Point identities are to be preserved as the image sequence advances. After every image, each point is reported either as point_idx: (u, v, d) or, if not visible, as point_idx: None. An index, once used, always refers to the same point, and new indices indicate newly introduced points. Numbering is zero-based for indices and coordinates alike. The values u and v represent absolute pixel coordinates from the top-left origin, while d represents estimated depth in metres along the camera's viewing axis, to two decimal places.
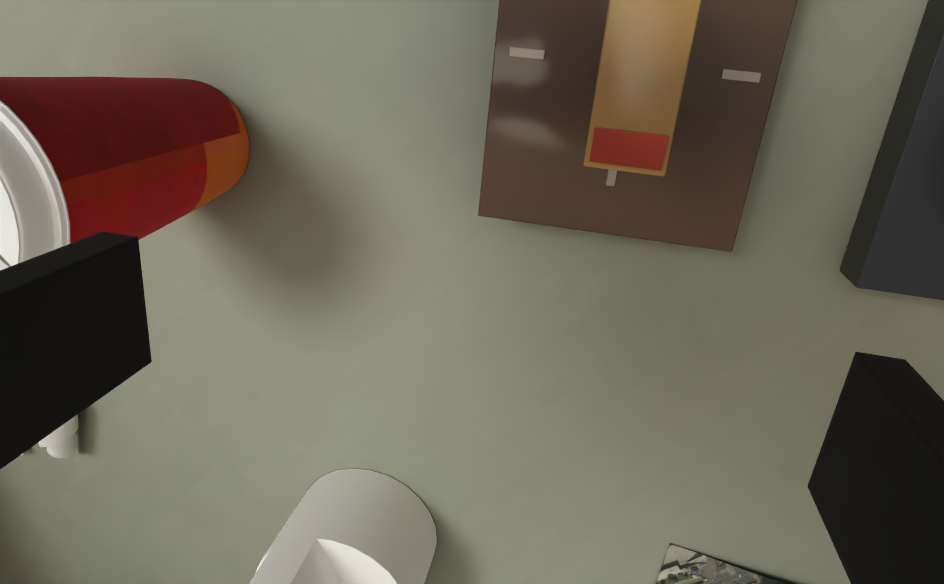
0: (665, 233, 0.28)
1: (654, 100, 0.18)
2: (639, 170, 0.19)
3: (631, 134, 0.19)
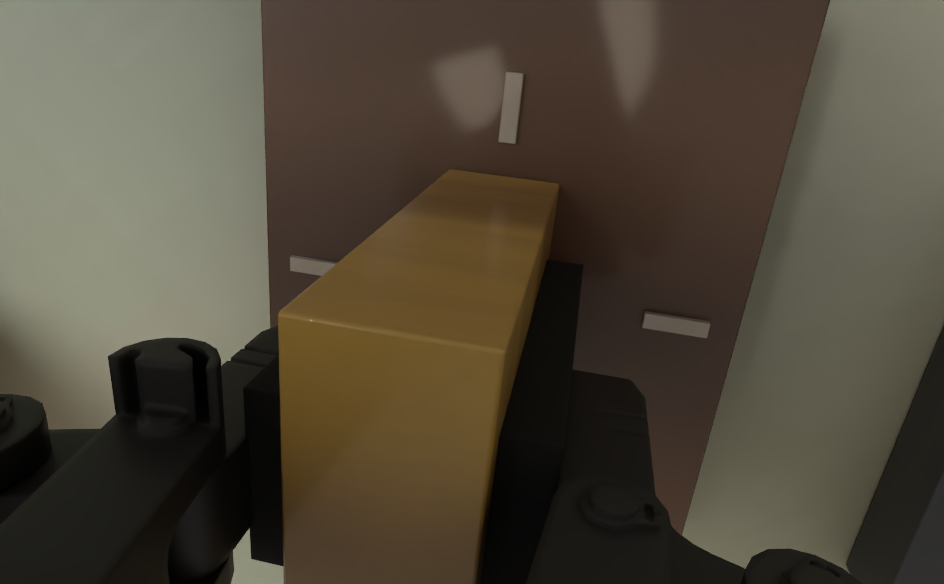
0: None
1: None
2: None
3: None
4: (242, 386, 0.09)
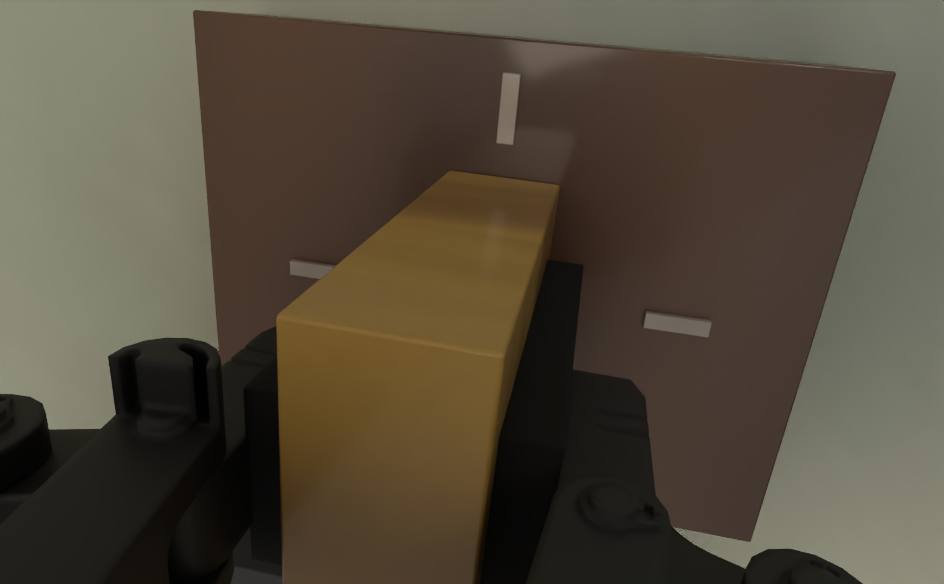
0: (231, 351, 0.17)
1: None
2: None
3: None
4: (242, 386, 0.09)
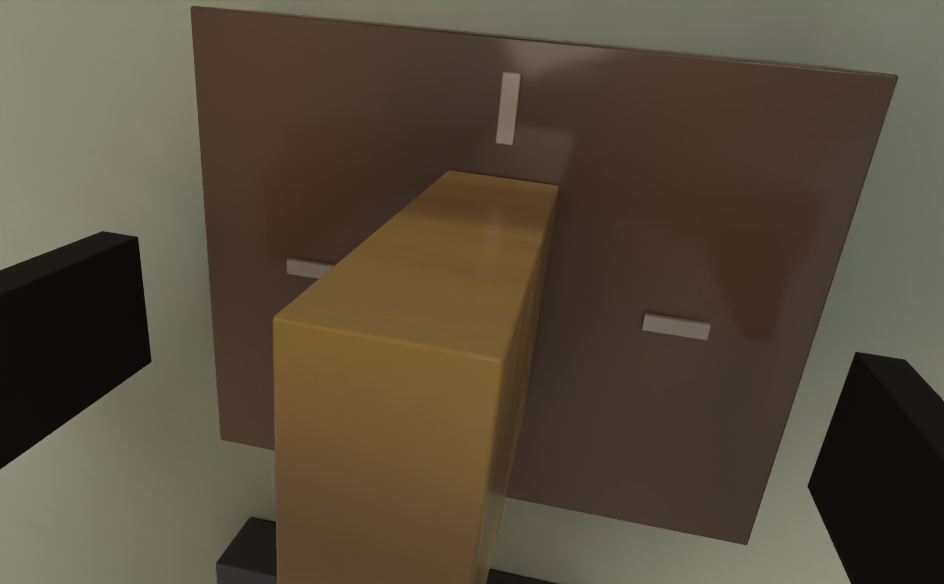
0: (227, 350, 0.17)
1: None
2: None
3: None
4: None
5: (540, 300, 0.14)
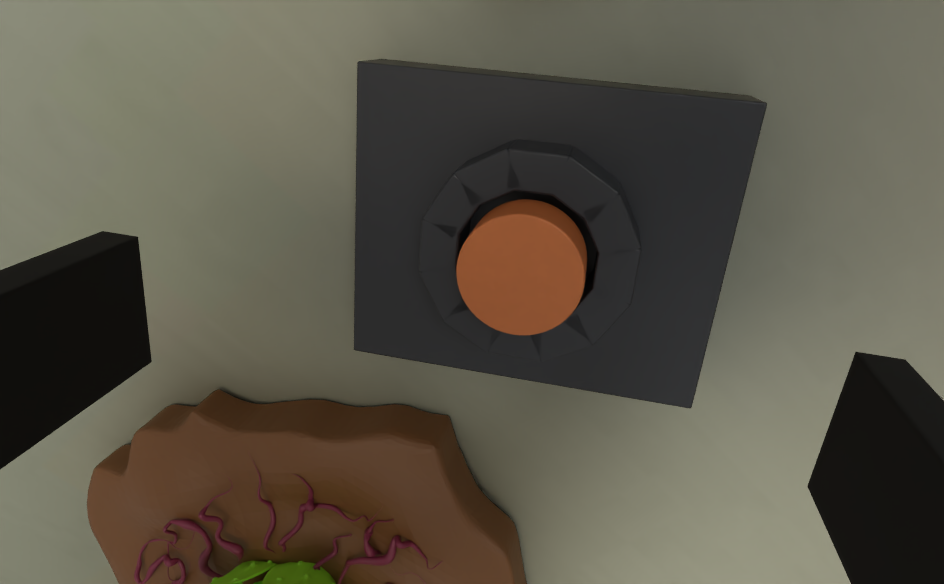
0: None
1: None
2: None
3: None
4: None
5: None
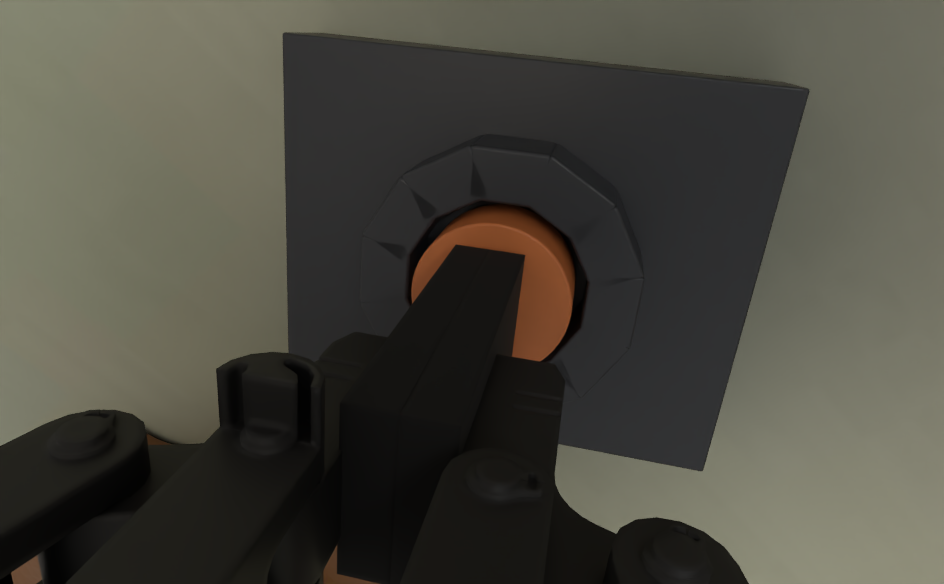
0: None
1: None
2: None
3: None
4: (325, 399, 0.09)
5: None
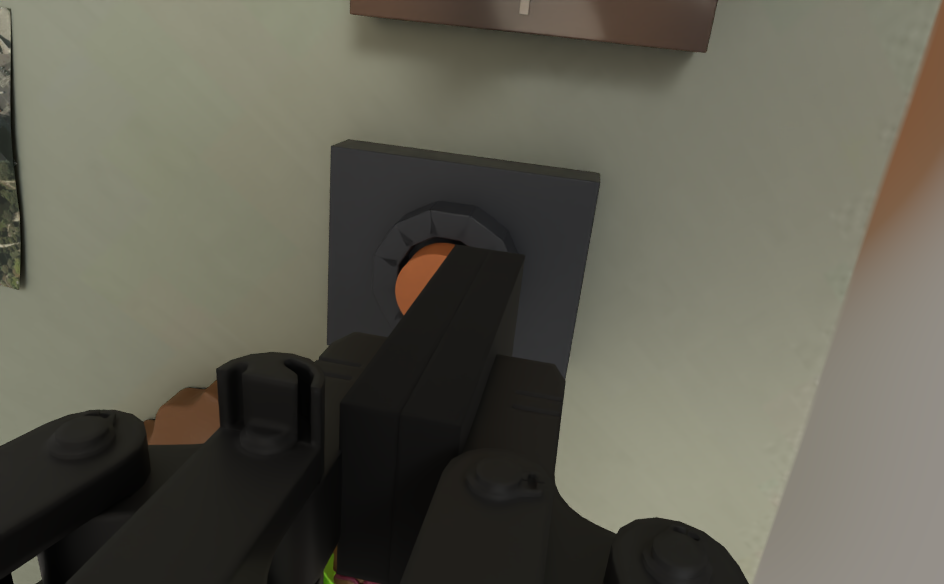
0: None
1: None
2: None
3: None
4: (325, 399, 0.09)
5: None
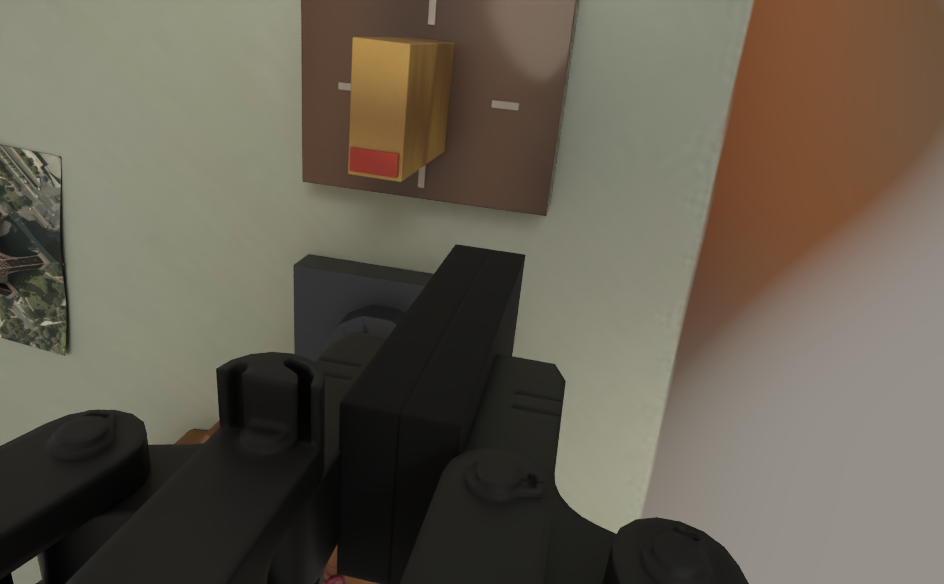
0: (308, 132, 0.36)
1: (387, 129, 0.27)
2: (384, 177, 0.27)
3: (374, 152, 0.27)
4: (325, 399, 0.09)
5: (446, 91, 0.33)
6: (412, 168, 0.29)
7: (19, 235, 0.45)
